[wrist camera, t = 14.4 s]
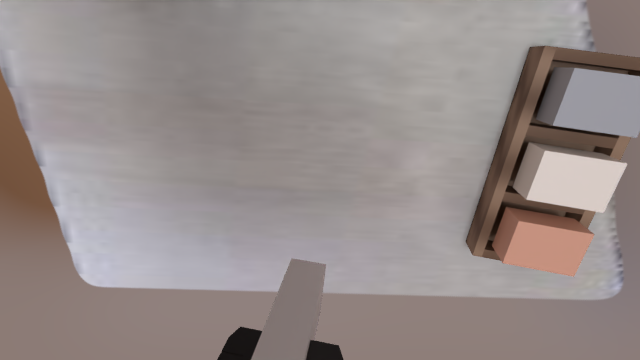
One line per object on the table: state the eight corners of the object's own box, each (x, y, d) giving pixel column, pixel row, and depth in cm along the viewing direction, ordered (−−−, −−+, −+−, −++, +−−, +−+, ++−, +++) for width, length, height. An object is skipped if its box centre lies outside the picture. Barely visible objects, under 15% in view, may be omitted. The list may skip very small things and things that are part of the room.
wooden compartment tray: (530, 47, 32) (545, 45, 29) (641, 61, 31) (667, 61, 28) (465, 241, 40) (472, 255, 37) (552, 257, 39) (566, 273, 36)
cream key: (528, 142, 32) (545, 150, 29) (603, 153, 32) (627, 163, 28) (512, 187, 34) (526, 199, 31) (582, 198, 33) (603, 212, 30)
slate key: (554, 67, 30) (574, 67, 27) (634, 77, 29) (664, 79, 26) (535, 119, 32) (552, 125, 29) (610, 130, 31) (636, 138, 28)
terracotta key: (506, 206, 35) (518, 221, 31) (574, 218, 34) (594, 234, 31) (491, 245, 36) (502, 262, 33) (556, 257, 36) (573, 276, 32)
